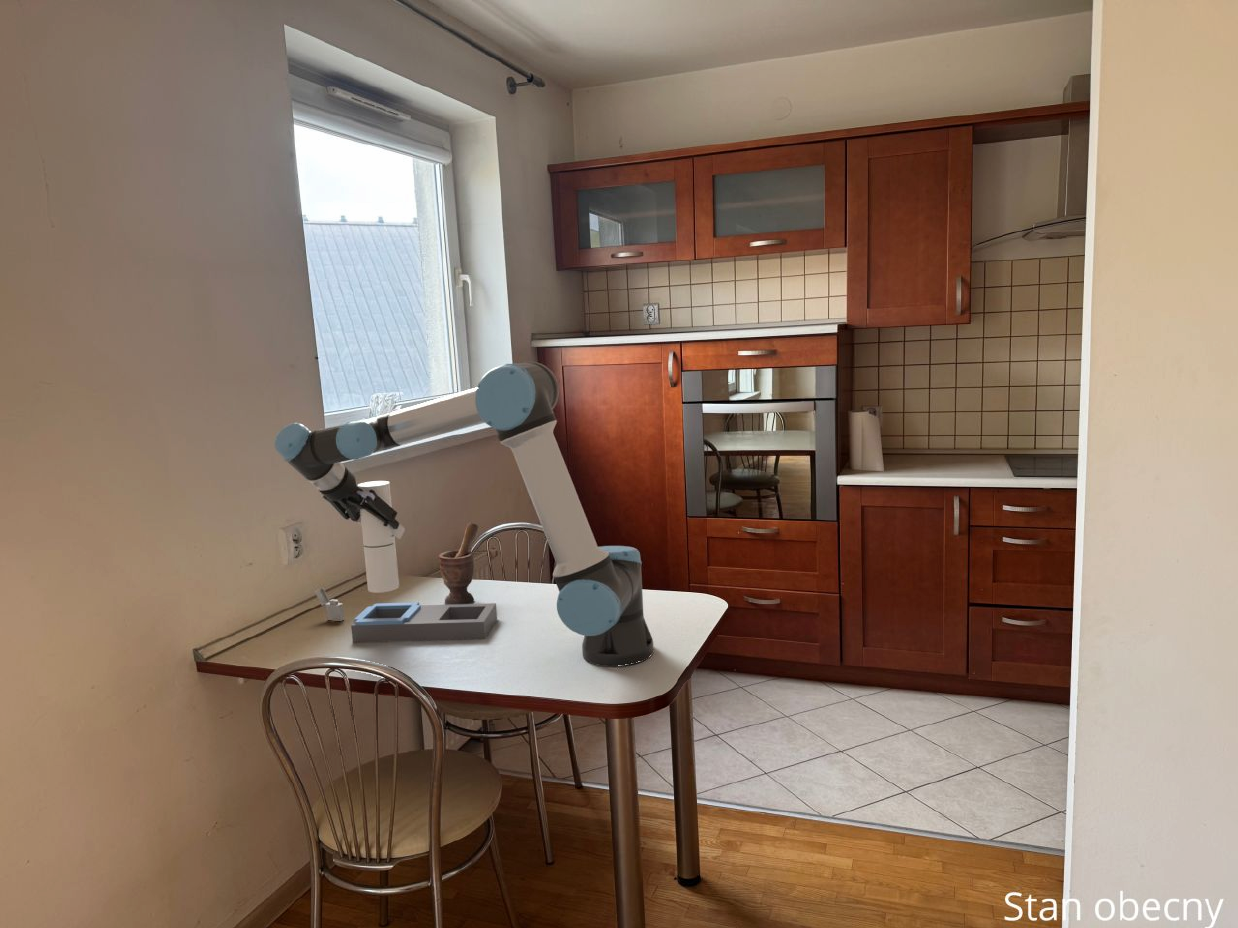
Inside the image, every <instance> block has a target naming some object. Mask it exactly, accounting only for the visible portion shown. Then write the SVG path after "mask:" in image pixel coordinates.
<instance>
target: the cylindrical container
mask: <svg viewBox="0 0 1238 928" xmlns="http://www.w3.org/2000/svg"><path fill="white" fill-rule="evenodd" d="M390 483H391V482H390V481H388V480H387V481H386V480H374V481H366V482H361V483H359V484H357V486H358V487H359V488H361V489H362V490H363V491H364V492H369V491H370V490H374V491H375V493H376V494H377V495H378V496H379V497H380V498H381V499H382V500H383V501H384V502H386V503H387V504H388V505H389V506H390V507H391V508H393V506H392V494H391V485H390ZM363 500H364V499H363ZM362 502H363V501H362ZM361 504H362V503H361ZM360 515H361V525H362V527H361V532H362V543H363V554H364V563H365V564H364V565H365V574H366V584H367V591H368V592H369V593H376V594H377V593H379V594H380V593H387V592H392V591H395V590H397V589H398V588H400V580H399V570H398V568H399V567H398V559H397V558H398V557H397V549H396V548H397V546H396V539H395V538H396V536H395V535H394V534H393V533H392V532H391V531H390V530H389V529H387V528H386V527H385V526H383V523H384V522H383V521H381V520H380V519H378V518H377V517H375V516H374V515H372V514H371V513H369V512H367V511H366V510H364V509H360Z"/></svg>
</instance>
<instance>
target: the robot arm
mask: <svg viewBox="0 0 1238 928" xmlns="http://www.w3.org/2000/svg"><path fill="white" fill-rule="evenodd" d="M559 396H560V386H559V382H558V379H557V377H556V375H555V374H554V372H553V371H552V370H551V369H550V368H548V367H547V366H546V365H545V364H543V363H539V362H537V361H523V362H519V363H518V362H517V363H505V364H503V365H499V366H497V367H494V368H492V369H490V370H489V371H488V372H486V373H485V374H484V375H482V377H481V379H480V380H479V381H478V383H477V386H476V387H474V388H470V389H467V390H464V391H460V392H457V393H453V394H450V395H447V396H443V397H440V398H435V399H433V400H429V401H426V402H423V403H419V404H416V405H412V406H408V407H405V408H401V409H399V410H394V411H392V412H389V413H388V412H387V413H385V414H380V415H378V416H374V417H370V418H366V419H361V420H355V421H354V420H353V421H350V422H349V421H348V422H345V423H341V424H338V425H332V426H329V427H326V428H322V429H321V428H320V429H314V430H309V428H308V427H306V425H304V424H302V423H298V422H293V423H290V424H288V425H286V426H284V427H283V428H282V429H281V430H280V431H279V432H278V433H277V435H276V437H275V439H274V442H273V443H274V449H275V450H276V452H277V453H278V454H279V455H280V456H281V457H282V459H283V460H284V461H285V462H287V463H288V464H289V465H290V466H291V467H292V468H294V469H295V471H297V472H298V473H299V474H300V475H301V476H303V477H304V478H305V480H307V481H308V482H309V483H310V484H311V485H312V487H313V488H315V489H317V490H318V491H319V493H321V494H322V495H323V496H322V498H323V499H324V500H325V501H327V502H328V503H329V504H330V505H332V507H333V508H334V509H335V510H336V511H337V512H338V513H339V514H340V516H341V517H343V519H344V520H347V521H348V520H351V521H353V522H355V523H357V524H358V525H360V527H361V528H362V525H361V515H360V509H364V510H366V511H367V512H369V513H371V514H372V515H374V516H375V517H377V518H378V519H380V520H381V521H383V522H384V523H383V526H385V527H386V528H387V529H389V530H390V531H391V532H392V533H393V534H394V535H395V538H396V539H398V540H401V539H402V537H403V535H404V533H405V531H406V528H405V527H404V526H403V525H402V524H401V523H400V522H399V521H398V520H397V519H396V517H397V515H398V512H397V511H396V510H395V509H394V508H393V507H392V508H391V507H390V506H389V505H388V504H387V503H386V502H384V501H383V500H382V499H381V498H380V497H379V496H378V495H377V494H376V493H375V491H374V490H370V491H369V492H364V491H363V490H362V489H361V488H359V487H358V484H357V481H356V476H355V475H354V473H353V472H351V471H350V470H349V469H348V467H346V466H345V465H344V464H343V463H342V462H349V461H355V460H359V459H364V458H366V457H369V456H371V455H372V454H375V453H379V452H383V451H388V450H392V449H395V448H398V447H401V446H404V445H407V444H411V443H415V442H418V441H421V440H425V439H430V438H433V437H436V436H441V435H445V434H448V433H453V432H455V431H459V430H462V429H467V428H470V427H473V426H477V425H481V424H486V425H488V426H489V427H491V428H492V429H494V431H495V435H496V436H497V438H498V440H499V443H500V444H501V445H503V446H505V447H507V448H509V449H510V450H511V452H512V455H513V457H514V460H515V462H516V464H517V465H516V466H517V467H518V469H519V472H520V474H521V476H522V479H523V482H524V485H525V487H526V490H527V493H528V495H529V497H530V499H531V503H532V505H533V508H534V510H535V512H536V515H537V517H538V520H539V523H540V525H541V528H542V530H543V533H544V535H545V537H546V540H547V543H548V545H549V548H550V550H551V552H552V556H553V558H554V561H555V563H556V564H555V565H556V566H555V568H554V570H553V573H552V577H553V579H554V582H555V584H556V586H557V590H558V591H559V593H558V595H557V599H556V611H557V614H558V617H559V619H560V620H561V623H562V624H563V625H565V627H566V628H567V629H569V630H571V632H574V633H576V634H579V635H581V636H584V637H583V640H582V644H581V645H582V646H581V650H582V658H583V659H584V660H586V661H587V662H588V663H590V662H591V664H593V663H594V664H593V665H596V664H598V665H597V666H602V665H606V666H605V667H619V666H618V665H625V664H631V663H636V662H638V661H642V660H644V659H646V658H648V657H649V656H650V655H651V654H652V653H653V654H654V652H653V651H654V640H653V636H652V634H651V632H650V629H649V627H648V624H647V621H646V620H645V617H644V615H645V614H644V600H643V577H642V563H643V562H642V560H641V553H640V551H639V550H638V549H637V548H635V547H632V546H626V545H625V546H624V545H602V546H598V544H597V542H596V539H595V536H594V533H593V531H592V529H591V526H590V523H589V521H588V518H587V516H586V513H585V511H584V508H583V506H582V503H581V500H580V499H579V495H578V493H577V491H576V487H575V485H574V483H573V480H572V478H571V475H570V473H569V470H568V468H567V465H566V463H565V462H566V461H565V460H564V457H563V455H562V453H561V450H560V448H559V444H558V441H557V440H556V437H555V435H554V430H555V427H556V425H557V423H558V420H557V418H556V415H555V412H554V410H553V409H554V408H555V407H556V405H557V403H558V401H559ZM363 499H364V500H363ZM362 501H363V502H362ZM361 503H362V504H361ZM653 654H652V655H653ZM649 658H650V657H649ZM649 658H648V659H649ZM646 660H647V659H646ZM644 661H645V660H644ZM642 662H643V661H642ZM636 664H637V663H636Z"/></svg>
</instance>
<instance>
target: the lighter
mask: <svg viewBox="0 0 1238 928" xmlns="http://www.w3.org/2000/svg"><path fill="white" fill-rule="evenodd" d="M314 592H315V594H316V597H317V598H318V601H319V603H320V604H321V606H325V608H326V609H325V610H326V617H327V621H328V620H335V621H342V620H344V621H345V614H344V604H343V603H342V602H339V600H338V599H335V598H332V599H329V596H328V593H327V592H326V590H325V588H324V587H321V588H318V589H317V590H315V591H314ZM342 622H343V621H342Z"/></svg>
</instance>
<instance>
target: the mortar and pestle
mask: <svg viewBox="0 0 1238 928" xmlns="http://www.w3.org/2000/svg"><path fill="white" fill-rule="evenodd" d="M478 529H479V526H478V525H477V524H476V523H473V522H469V523H468V524H467V525H466V528H465V531H464V536H463V537H462V538H463V539H462V543H461V546H460V548H459V549H455V550H448V551H444V552H441V553H440V554H439V555H438V560H439V570H440V571H439V572H440V576H441V578H442V580H443V584H444V586H446V588H448V590H449V593H448V595H446V596H445V598H444V605H452V604H473V602H474V601H475V598H474V596H473V594H472V593H470V592H469V591H468V587H469V586H470V585H471V583H472V581H473V577H474V568H475V567H474V565H475V564H474V552H472V551H471V550H469V549H470V547H471V544H472V543H473V540H474V539H475V538H476V535H477V533H478Z"/></svg>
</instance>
